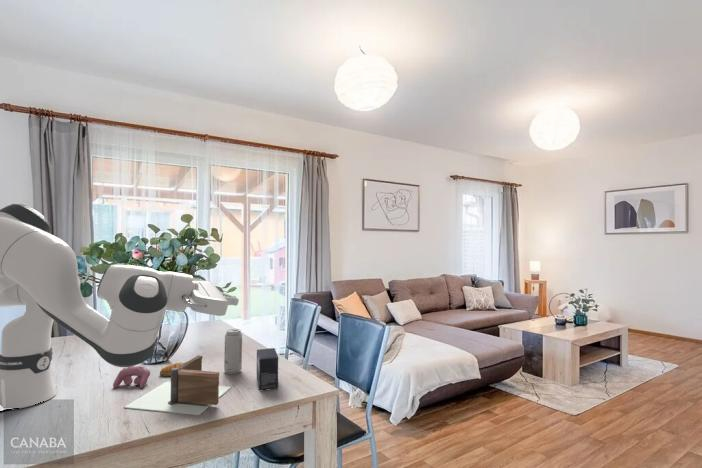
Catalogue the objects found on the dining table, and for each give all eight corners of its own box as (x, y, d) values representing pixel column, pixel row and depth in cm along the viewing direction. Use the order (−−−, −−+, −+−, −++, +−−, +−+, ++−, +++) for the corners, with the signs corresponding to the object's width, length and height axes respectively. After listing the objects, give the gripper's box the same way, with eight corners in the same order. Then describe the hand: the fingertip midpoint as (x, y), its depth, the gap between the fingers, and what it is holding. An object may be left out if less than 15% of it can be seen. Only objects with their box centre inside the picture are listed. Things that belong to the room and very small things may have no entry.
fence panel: (215, 405, 108) (216, 374, 108) (177, 402, 109) (178, 371, 109) (218, 403, 109) (219, 372, 109) (180, 399, 111) (181, 369, 111)
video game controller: (148, 389, 124) (153, 367, 127) (142, 388, 119) (147, 365, 123) (117, 389, 123) (123, 366, 126) (110, 388, 119) (116, 364, 122)
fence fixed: (168, 404, 109) (169, 370, 109) (196, 385, 124) (197, 354, 124) (175, 405, 109) (176, 370, 109) (202, 385, 123) (203, 355, 123)
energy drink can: (224, 369, 138) (225, 328, 138) (241, 368, 140) (242, 328, 140) (223, 375, 132) (224, 333, 133) (241, 374, 134) (242, 332, 134)
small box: (255, 379, 130) (255, 348, 130) (274, 377, 132) (274, 347, 132) (258, 391, 120) (258, 358, 120) (278, 389, 122) (279, 356, 122)
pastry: (159, 379, 129) (160, 368, 129) (159, 373, 135) (159, 362, 135) (189, 375, 133) (189, 364, 133) (188, 369, 139) (188, 358, 139)
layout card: (123, 408, 107) (123, 406, 107) (166, 382, 125) (166, 381, 125) (199, 415, 103) (199, 413, 103) (231, 387, 122) (231, 386, 122)
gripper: (189, 289, 80) (251, 299, 88) (178, 271, 98) (231, 280, 105) (181, 318, 80) (244, 325, 87) (172, 294, 98) (224, 302, 105)
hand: (236, 300), depth 96 cm, fingers closed
